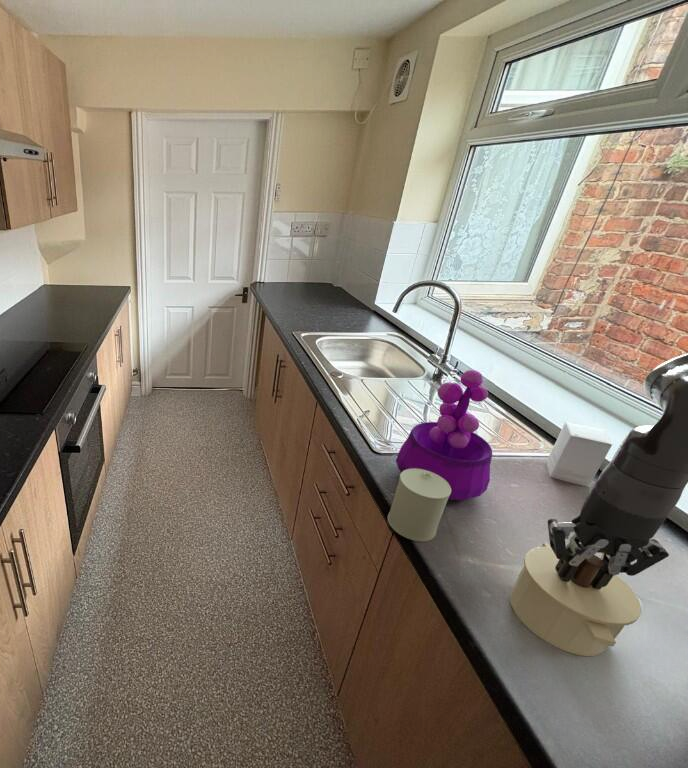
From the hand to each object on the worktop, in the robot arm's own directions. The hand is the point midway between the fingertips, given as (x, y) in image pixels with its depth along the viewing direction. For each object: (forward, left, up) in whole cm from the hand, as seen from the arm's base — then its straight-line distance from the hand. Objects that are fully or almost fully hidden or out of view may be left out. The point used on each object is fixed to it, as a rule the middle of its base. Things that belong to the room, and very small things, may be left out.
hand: (577, 580), depth 65 cm
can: (+20, -15, -9) cm, 27 cm away
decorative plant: (+12, -32, -9) cm, 35 cm away
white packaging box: (-18, -45, -9) cm, 50 cm away
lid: (0, 0, -1) cm, 1 cm away
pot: (0, 0, -9) cm, 9 cm away
